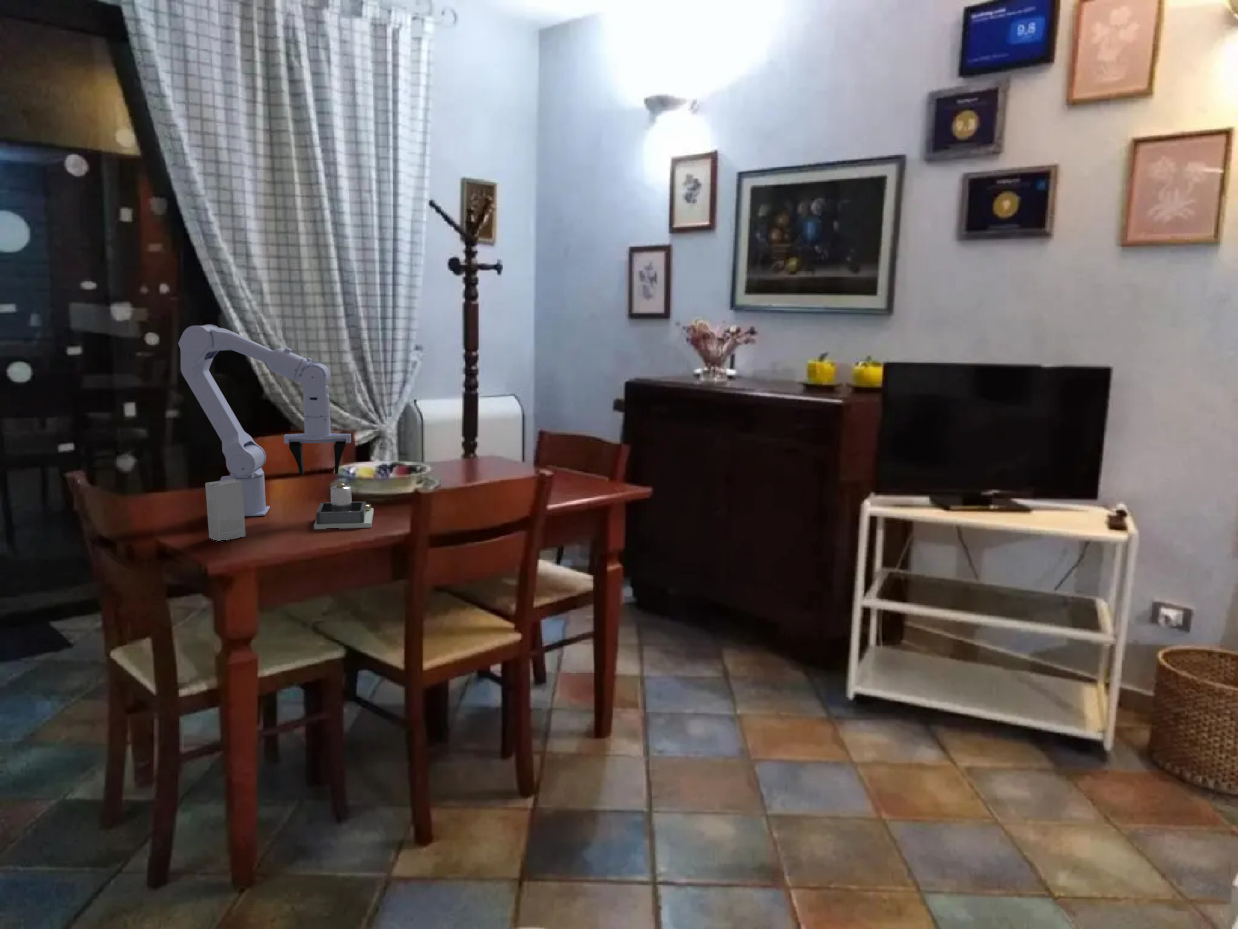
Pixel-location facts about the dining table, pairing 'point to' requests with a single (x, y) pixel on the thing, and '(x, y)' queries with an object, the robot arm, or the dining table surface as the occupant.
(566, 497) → the dining table surface
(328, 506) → the box
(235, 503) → the skincare box
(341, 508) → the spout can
